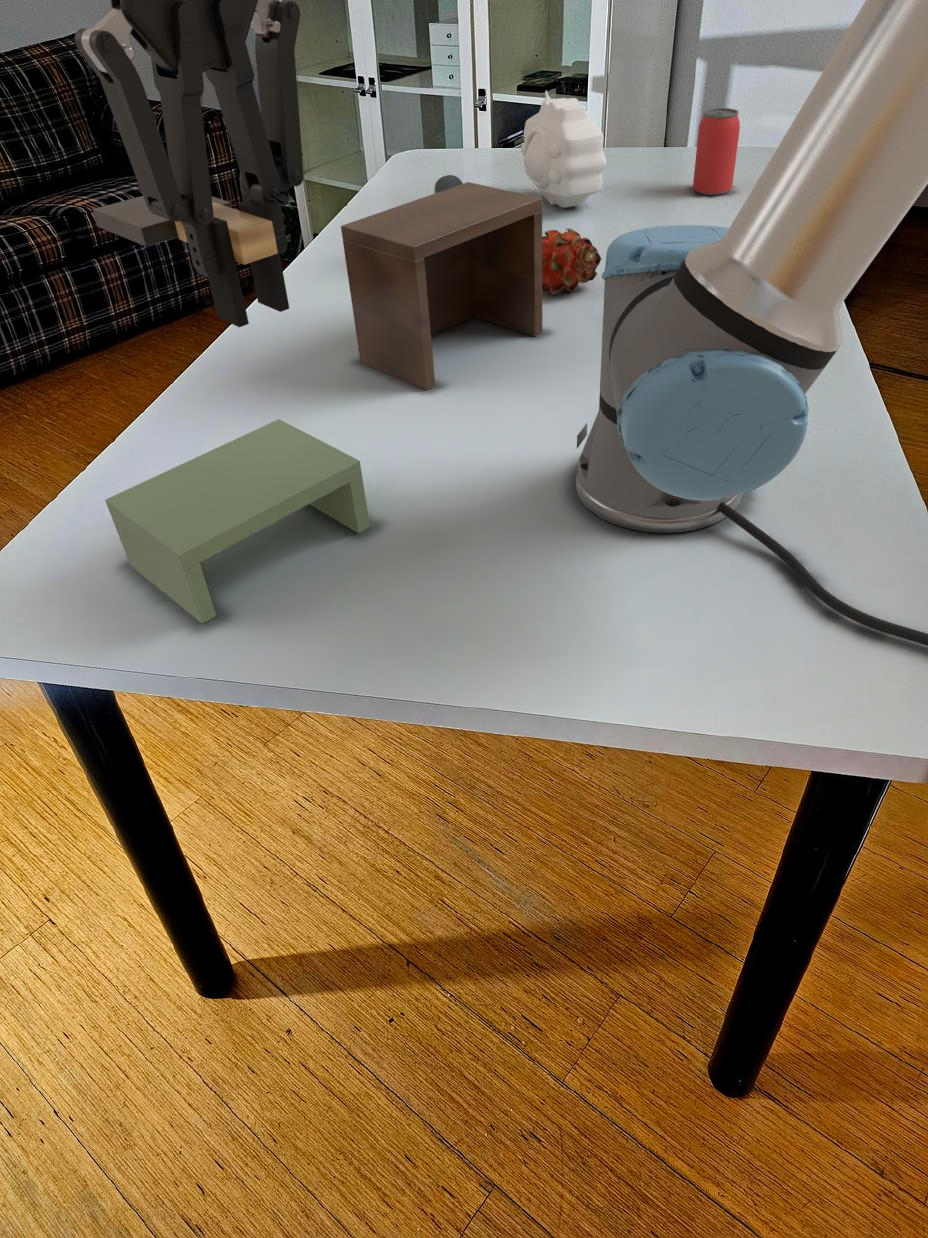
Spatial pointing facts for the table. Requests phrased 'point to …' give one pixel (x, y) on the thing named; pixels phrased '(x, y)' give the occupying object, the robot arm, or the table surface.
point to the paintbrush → (447, 183)
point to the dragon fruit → (567, 260)
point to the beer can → (716, 151)
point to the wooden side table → (442, 273)
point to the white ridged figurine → (563, 152)
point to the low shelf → (231, 505)
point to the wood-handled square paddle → (146, 228)
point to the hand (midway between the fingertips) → (253, 312)
